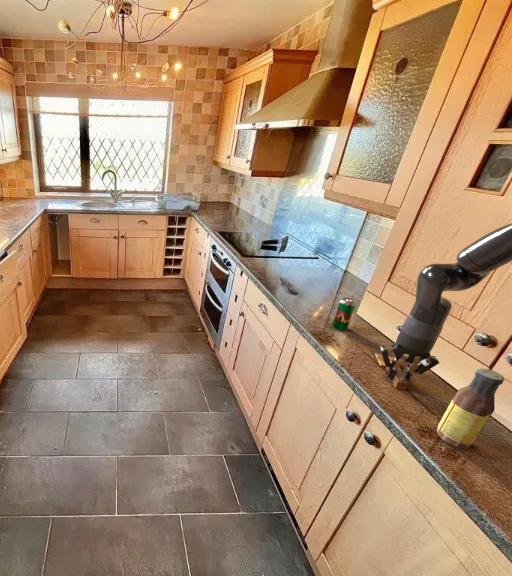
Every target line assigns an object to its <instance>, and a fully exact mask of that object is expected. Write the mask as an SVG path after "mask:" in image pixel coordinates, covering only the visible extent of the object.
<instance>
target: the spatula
mask: <svg viewBox="0 0 512 576" xmlns="http://www.w3.org/2000/svg"><path fill="white" fill-rule="evenodd" d="M374 355H375V357H376V361H377V362H378V364H379V366H380V367H384V368H385V369H386V372H387V371H388V369H389V367H386V365H385V363H384V361H383V357H382V354H381V353H380V354H379V353H375V354H374ZM388 356H389V360H390V362H391V361H392V360H393V357H394V356H390V355H388ZM391 382H392V384H393V386H394V389H397V390H402V391H406V390H407V388H408V386H409V381H408V382H407V380H406V378H405V376H404V374H403V370H402V369H401V366H400V367H399V368H398V370H397V373H396V375H395V377H394V379H393V380H391Z"/></svg>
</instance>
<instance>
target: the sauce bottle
mask: <svg viewBox="0 0 512 576" xmlns="http://www.w3.org/2000/svg"><path fill="white" fill-rule="evenodd" d="M504 381H505V377H504V376H503V375H502V374H501V373H499V372H497V371H495V370H491V369H489V368H483V367H481V368H480V367H479V368H477V369H476V371H475V373H474V377H473V378H472V381H471V382H470V383H469V384H468V385H466V386H463V387H460V388H458V391H457V392H456V393H455V395H454V397H453V398H452V400H451V401H450V403H449V405H448V406H447V408H446V411H445V412H444V414H443V416H442V418H441V419H440V421H439V423H438V425H437V427H436V433H437V436H438V437H439V438H440V439H441V440H443V441H444V442H445V443H446V444H448V445H451V446H452V447H456V448H459V449H464V450H465V449H469V448H470V447H471V446H472V445H473V444H475V442H476V440H477V439H478V437H479V436H480V435H481V433H482V431H483V429H484V427H485V426H486V425H487V423H488V422H489V420H490V418H491V417H492V415H493V414H494V412H495V407H496V406H495V404H496V403H495V394H496V393H497V390H498V388H499V387H500V386H501V385H503V383H504Z"/></svg>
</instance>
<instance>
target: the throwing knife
mask: <svg viewBox="0 0 512 576" xmlns="http://www.w3.org/2000/svg"><path fill="white" fill-rule="evenodd" d="M277 280H278V282H279V284H280V285H282V286H284V288H286V290H287V293H288V294H296V293H297V290H295V289H293V288H292V287H291V285H290V283H289V282H288V281H287V280H285V279H284V278H283V277H281V276H279V275H277Z"/></svg>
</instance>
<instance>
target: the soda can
mask: <svg viewBox="0 0 512 576" xmlns="http://www.w3.org/2000/svg"><path fill="white" fill-rule="evenodd" d="M356 302H357V301H356V300H355V299H354V298H351V297H342V298H341V299H339V302H338V305H337V308H336V312H335V315H334V318H333V320H332V327H333V328H334V329H335V330H337V331H340V332H342V331H347V330H348V329H349V326H350V324H351V321H352V318H353V315H354V312H355V309H356V306H357V303H356Z"/></svg>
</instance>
